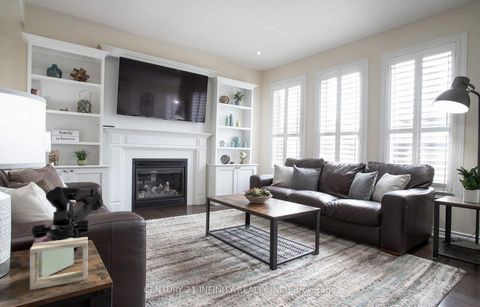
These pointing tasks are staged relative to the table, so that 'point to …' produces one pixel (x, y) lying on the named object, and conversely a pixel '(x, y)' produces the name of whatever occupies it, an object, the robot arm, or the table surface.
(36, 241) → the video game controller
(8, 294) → the table surface
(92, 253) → the table surface
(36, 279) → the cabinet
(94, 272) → the table surface
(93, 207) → the robot arm
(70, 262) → the door
